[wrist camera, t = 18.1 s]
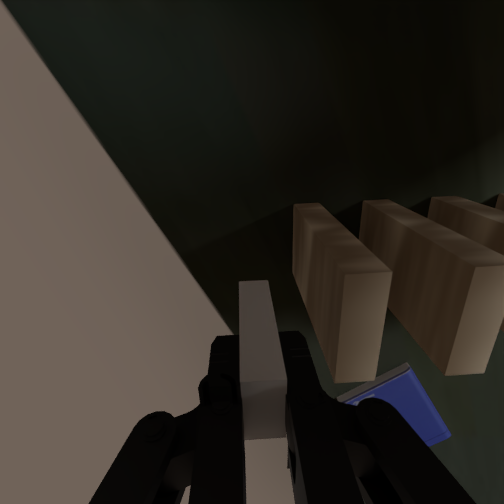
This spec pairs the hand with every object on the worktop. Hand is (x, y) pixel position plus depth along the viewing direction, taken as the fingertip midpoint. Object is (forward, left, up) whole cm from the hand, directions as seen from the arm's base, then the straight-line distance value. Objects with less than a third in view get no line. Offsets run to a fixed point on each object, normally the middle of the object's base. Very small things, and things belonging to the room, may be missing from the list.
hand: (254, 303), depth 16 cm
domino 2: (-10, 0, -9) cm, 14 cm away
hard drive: (-15, +22, -10) cm, 28 cm away
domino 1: (-5, 0, -9) cm, 10 cm away
